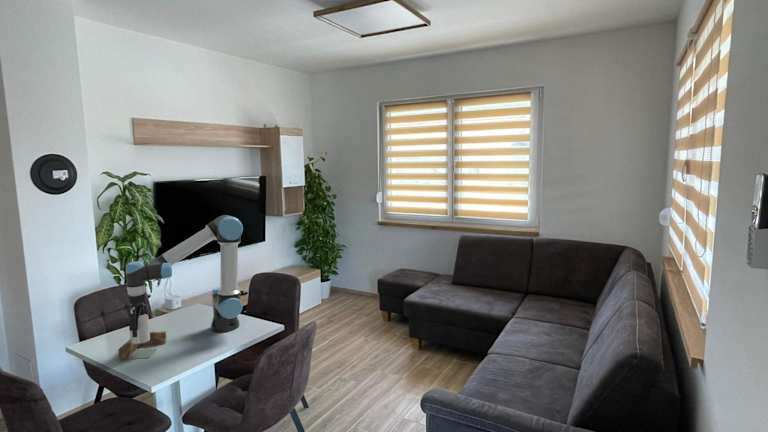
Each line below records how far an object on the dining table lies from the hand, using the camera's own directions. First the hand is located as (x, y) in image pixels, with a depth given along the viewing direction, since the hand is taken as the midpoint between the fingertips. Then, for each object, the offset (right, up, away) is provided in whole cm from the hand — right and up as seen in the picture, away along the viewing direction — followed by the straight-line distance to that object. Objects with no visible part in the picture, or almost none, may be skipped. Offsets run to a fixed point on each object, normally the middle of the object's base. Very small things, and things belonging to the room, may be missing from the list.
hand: (140, 339), depth 206 cm
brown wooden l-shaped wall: (-1, -7, +3) cm, 8 cm away
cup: (0, -1, 0) cm, 1 cm away
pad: (0, -8, +1) cm, 8 cm away
